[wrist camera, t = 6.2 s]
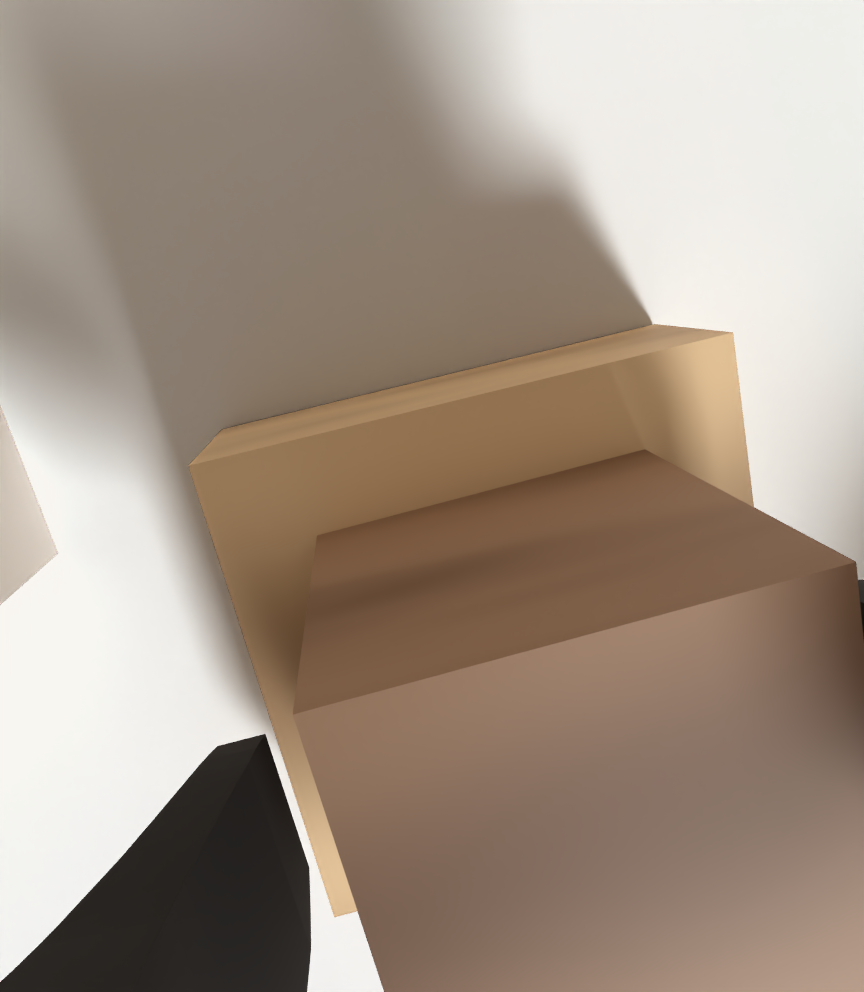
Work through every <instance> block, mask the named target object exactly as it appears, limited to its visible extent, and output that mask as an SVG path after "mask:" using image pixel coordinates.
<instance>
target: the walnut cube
mask: <svg viewBox="0 0 864 992" xmlns="http://www.w3.org/2000/svg"><path fill="white" fill-rule="evenodd" d="M293 717H294V720H295V723H296V726H297V729H298V732H299V735H300V739H301V742H302V745H303V748H304V751H305V754H306V757H307V760H308V763H309V766H310V769H311V772H312V775H313V778H314V781H315V784H316V787H317V790H318V793H319V796H320V799H321V802H322V805H323V808H324V811H325V814H326V817H327V820H328V823H329V826H330V829H331V832H332V835H333V838H334V841H335V844H336V847H337V850H338V853H339V856H340V859H341V862H342V865H343V869H344V872H345V875H346V878H347V881H348V884H349V887H350V890H351V893H352V896H353V899H354V902H355V905H356V908H357V911H358V914H359V917H360V920H361V923H362V926H363V929H364V932H365V935H366V938H367V941H368V944H369V947H370V950H371V953H372V956H373V959H374V962H375V965H376V968H377V971H378V974H379V977H380V980H381V983H382V986H383V989H384V992H864V639H863V629H862V618H861V608H860V598H859V587H858V577H857V567H856V562H855V561H853V560H851V559H850V558H848V557H846V556H844V555H842V554H840V553H838V552H836V551H835V550H833V549H831V548H829V547H827V546H825V545H823V544H821V543H820V542H818V541H816V540H814V539H812V538H810V537H808V536H806V535H805V534H803V533H801V532H799V531H797V530H795V529H793V528H791V527H790V526H788V525H786V524H784V523H782V522H780V521H778V520H777V519H775V518H773V517H771V516H769V515H767V514H765V513H763V512H762V511H760V510H758V509H756V508H754V507H752V506H750V505H748V504H747V503H745V502H743V501H741V500H739V499H737V498H735V497H733V496H732V495H730V494H728V493H726V492H724V491H722V490H720V489H718V488H717V487H715V486H713V485H711V484H709V483H707V482H705V481H703V480H702V479H700V478H698V477H696V476H694V475H692V474H690V473H689V472H687V471H685V470H683V469H681V468H679V467H677V466H675V465H674V464H672V463H670V462H668V461H666V460H664V459H662V458H660V457H659V456H657V455H655V454H653V453H651V452H649V451H647V450H645V449H644V450H640V451H636V452H632V453H629V454H625V455H621V456H617V457H613V458H610V459H606V460H602V461H598V462H594V463H591V464H587V465H583V466H579V467H575V468H572V469H568V470H564V471H560V472H556V473H553V474H549V475H545V476H541V477H537V478H534V479H530V480H526V481H522V482H518V483H515V484H511V485H507V486H503V487H499V488H496V489H492V490H488V491H484V492H480V493H477V494H473V495H469V496H465V497H461V498H458V499H454V500H450V501H446V502H442V503H439V504H435V505H431V506H427V507H423V508H420V509H416V510H412V511H408V512H404V513H401V514H397V515H393V516H389V517H385V518H382V519H378V520H374V521H370V522H366V523H363V524H359V525H355V526H351V527H347V528H344V529H340V530H336V531H332V532H328V533H325V534H321V535H317V539H316V546H315V554H314V561H313V568H312V576H311V583H310V590H309V598H308V605H307V613H306V620H305V627H304V635H303V642H302V649H301V657H300V664H299V671H298V679H297V686H296V694H295V701H294V708H293Z"/></svg>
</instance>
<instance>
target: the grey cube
mask: <svg viewBox="0 0 864 992" xmlns="http://www.w3.org/2000/svg"><path fill="white" fill-rule="evenodd" d="M57 554H58V552H57V549H56V547H55V544H54V541H53V539H52V536H51V534H50V531H49V529H48V526H47V523H46V521H45V518H44V516H43V513H42V511H41V508H40V505H39V503H38V500H37V498H36V495H35V493H34V490H33V488H32V485H31V482H30V480H29V477H28V475H27V472H26V470H25V467H24V464H23V462H22V459H21V457H20V454H19V452H18V449H17V447H16V444H15V441H14V439H13V436H12V434H11V431H10V429H9V426H8V423H7V421H6V418H5V416H4V413H3V411H2V408H1V406H0V605H1V604H2V603H3V602H4V601H5V600H6V599H8V598H9V597H10V596H11V595H12V594H13V593H14V592H15V591H17V590H18V589H19V588H20V587H21V586H22V585H23V584H24V583H26V582H27V581H28V580H29V579H30V578H31V577H32V576H33V575H35V574H36V573H37V572H38V571H39V570H40V569H41V568H42V567H44V566H45V565H46V564H47V563H48V562H49V561H50V560H51V559H53V558H54V557H55V556H56V555H57Z"/></svg>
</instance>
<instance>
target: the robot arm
mask: <svg viewBox="0 0 864 992" xmlns="http://www.w3.org/2000/svg"><path fill="white" fill-rule="evenodd" d="M858 587H859V598H860V608H861V618H862V629H863V639H864V580H858ZM310 953H311V913H310V880H309V866H308V863H307V860H306V857H305V854H304V851H303V848H302V845H301V842H300V838H299V835H298V832H297V829H296V826H295V823H294V820H293V817H292V814H291V811H290V808H289V805H288V802H287V799H286V796H285V793H284V790H283V787H282V784H281V781H280V778H279V774H278V771H277V768H276V765H275V762H274V759H273V756H272V753H271V750H270V747H269V744H268V741H267V738H266V735H265V734H263V735H259V736H255V737H252V738H248V739H244V740H240V741H236V742H232V743H228V744H225V745H221V746H217V747H216V748H215V749H214V750H213V751H212V752H211V753H210V754H209V755H208V756H207V758H206V759H205V760H204V761H203V762H202V763H201V764H200V765H199V767H198V768H197V769H196V770H195V771H194V772H193V774H192V775H191V776H190V777H189V778H188V779H187V781H186V782H185V783H184V784H183V785H182V787H181V788H180V789H179V790H178V791H177V793H176V794H175V795H174V796H173V797H172V799H171V800H170V801H169V802H168V803H167V805H166V806H165V807H164V808H163V809H162V810H161V812H160V813H159V814H158V815H157V816H156V817H155V819H154V820H153V821H152V822H151V823H150V824H149V826H148V827H147V828H146V829H145V830H144V831H143V833H142V834H141V835H140V836H139V837H138V839H137V840H136V841H135V842H134V843H133V844H132V846H131V847H130V848H129V849H128V850H127V851H126V853H125V854H124V855H123V856H122V857H121V858H120V859H119V861H118V862H117V863H116V864H115V865H114V866H113V867H112V868H111V869H110V870H109V871H108V872H107V873H106V875H105V876H104V877H103V878H102V879H101V880H100V881H99V882H98V883H97V884H96V885H95V886H94V887H93V889H92V890H91V891H90V892H89V893H88V894H87V895H86V896H85V897H84V898H83V899H82V900H81V901H80V903H79V904H78V905H77V906H76V907H75V908H74V909H73V910H72V911H71V912H70V913H69V914H68V915H67V917H66V918H65V919H64V920H63V921H62V922H61V923H60V924H59V925H58V926H57V927H56V928H55V929H54V930H53V931H52V932H51V933H50V934H49V935H48V936H47V937H46V938H45V939H44V940H43V941H42V943H41V944H40V945H39V946H38V947H37V948H35V949H34V950H33V951H32V952H31V953H30V954H29V955H28V956H27V957H26V958H25V959H24V960H23V961H22V962H21V963H20V964H19V965H18V966H17V967H16V968H15V969H14V970H13V971H12V972H11V973H10V974H9V975H7V976H6V977H5V978H4V979H3V980H2V981H1V982H0V992H307V986H308V975H309V964H310Z"/></svg>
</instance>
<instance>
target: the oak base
mask: <svg viewBox="0 0 864 992" xmlns="http://www.w3.org/2000/svg"><path fill="white" fill-rule="evenodd" d="M644 449H645V450H647V451H649V452H651V453H653V454H655V455H657V456H659V457H660V458H662V459H664V460H666V461H668V462H670V463H672V464H674V465H675V466H677V467H679V468H681V469H683V470H685V471H687V472H689V473H690V474H692V475H694V476H696V477H698V478H700V479H702V480H703V481H705V482H707V483H709V484H711V485H713V486H715V487H717V488H718V489H720V490H722V491H724V492H726V493H728V494H730V495H732V496H733V497H735V498H737V499H739V500H741V501H743V502H745V503H747V504H748V505H750V506H752V507H754V505H753V496H752V488H751V479H750V471H749V463H748V454H747V446H746V438H745V429H744V421H743V412H742V404H741V396H740V387H739V379H738V371H737V362H736V354H735V345H734V337H733V332H723V331H714V330H704V329H695V328H686V327H676V326H667V325H657V324H653V325H649V326H645V327H641V328H637V329H633V330H629V331H625V332H620V333H616V334H612V335H608V336H604V337H600V338H596V339H592V340H588V341H583V342H579V343H575V344H571V345H567V346H563V347H559V348H555V349H551V350H546V351H542V352H538V353H534V354H530V355H526V356H522V357H518V358H513V359H509V360H505V361H501V362H497V363H493V364H489V365H485V366H481V367H476V368H472V369H468V370H464V371H460V372H456V373H452V374H448V375H444V376H439V377H435V378H431V379H427V380H423V381H419V382H415V383H411V384H407V385H402V386H398V387H394V388H390V389H386V390H382V391H378V392H374V393H370V394H365V395H361V396H357V397H353V398H349V399H345V400H341V401H337V402H333V403H328V404H324V405H320V406H316V407H312V408H308V409H304V410H300V411H295V412H291V413H287V414H283V415H279V416H275V417H271V418H267V419H263V420H258V421H254V422H250V423H246V424H242V425H238V426H234V427H230V428H226V429H222V430H221V431H220V432H219V433H218V434H217V435H216V436H215V437H214V439H213V440H212V441H211V442H210V443H209V444H208V445H207V446H206V447H205V448H204V449H203V450H202V451H201V453H200V454H199V455H198V456H197V457H196V458H195V459H194V460H193V461H192V462H191V463H190V464H189V465H188V467H189V470H190V473H191V476H192V479H193V482H194V485H195V488H196V492H197V495H198V498H199V501H200V504H201V507H202V510H203V513H204V516H205V519H206V522H207V525H208V529H209V532H210V535H211V538H212V541H213V544H214V547H215V550H216V553H217V556H218V559H219V562H220V566H221V569H222V572H223V575H224V578H225V581H226V584H227V587H228V590H229V593H230V596H231V600H232V603H233V606H234V609H235V612H236V615H237V618H238V621H239V624H240V627H241V630H242V633H243V637H244V640H245V643H246V646H247V649H248V652H249V655H250V658H251V661H252V664H253V667H254V670H255V674H256V677H257V680H258V683H259V686H260V689H261V692H262V695H263V698H264V701H265V704H266V707H267V711H268V714H269V717H270V720H271V723H272V726H273V729H274V732H275V735H276V738H277V741H278V745H279V748H280V751H281V754H282V757H283V760H284V763H285V766H286V769H287V772H288V775H289V778H290V782H291V785H292V788H293V791H294V794H295V797H296V800H297V803H298V806H299V809H300V812H301V815H302V819H303V822H304V825H305V828H306V831H307V834H308V837H309V840H310V843H311V846H312V849H313V852H314V856H315V859H316V862H317V865H318V868H319V871H320V874H321V877H322V880H323V883H324V886H325V890H326V893H327V896H328V899H329V902H330V905H331V908H332V911H333V914H334V917H337V916H341V915H345V914H348V913H352V912H356V911H357V908H356V905H355V902H354V899H353V896H352V893H351V890H350V887H349V884H348V881H347V878H346V875H345V872H344V869H343V865H342V862H341V859H340V856H339V853H338V850H337V847H336V844H335V841H334V838H333V835H332V832H331V829H330V826H329V823H328V820H327V817H326V814H325V811H324V808H323V805H322V802H321V799H320V796H319V793H318V790H317V787H316V784H315V781H314V778H313V775H312V772H311V769H310V766H309V763H308V760H307V757H306V754H305V751H304V748H303V745H302V742H301V739H300V735H299V732H298V729H297V726H296V723H295V720H294V717H293V708H294V701H295V694H296V686H297V679H298V671H299V664H300V657H301V649H302V642H303V635H304V627H305V620H306V613H307V605H308V598H309V590H310V583H311V576H312V568H313V561H314V554H315V546H316V539H317V535H321V534H325V533H328V532H332V531H336V530H340V529H344V528H347V527H351V526H355V525H359V524H363V523H366V522H370V521H374V520H378V519H382V518H385V517H389V516H393V515H397V514H401V513H404V512H408V511H412V510H416V509H420V508H423V507H427V506H431V505H435V504H439V503H442V502H446V501H450V500H454V499H458V498H461V497H465V496H469V495H473V494H477V493H480V492H484V491H488V490H492V489H496V488H499V487H503V486H507V485H511V484H515V483H518V482H522V481H526V480H530V479H534V478H537V477H541V476H545V475H549V474H553V473H556V472H560V471H564V470H568V469H572V468H575V467H579V466H583V465H587V464H591V463H594V462H598V461H602V460H606V459H610V458H613V457H617V456H621V455H625V454H629V453H632V452H636V451H640V450H644Z"/></svg>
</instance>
